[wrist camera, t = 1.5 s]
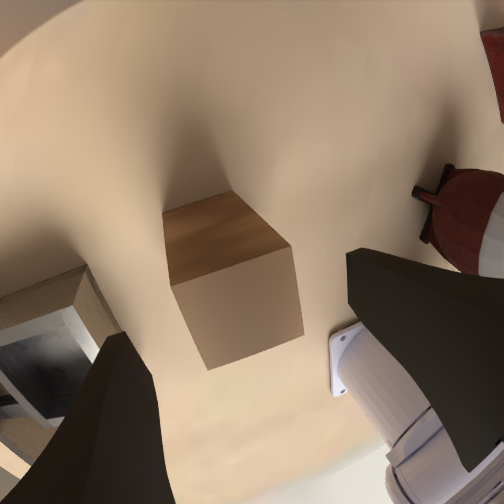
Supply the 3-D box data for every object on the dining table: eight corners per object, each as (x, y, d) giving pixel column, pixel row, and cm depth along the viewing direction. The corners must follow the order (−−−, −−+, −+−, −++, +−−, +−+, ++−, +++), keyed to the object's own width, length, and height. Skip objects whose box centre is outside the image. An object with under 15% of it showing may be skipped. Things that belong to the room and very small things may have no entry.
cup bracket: (54, 184, 12) (13, 216, 8) (167, 401, 19) (177, 459, 15) (-71, 255, 10) (-112, 297, 6) (51, 426, 18) (46, 477, 13)
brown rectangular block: (232, 190, 15) (291, 245, 9) (248, 254, 17) (304, 334, 11) (161, 213, 14) (170, 286, 8) (183, 275, 16) (207, 370, 10)
